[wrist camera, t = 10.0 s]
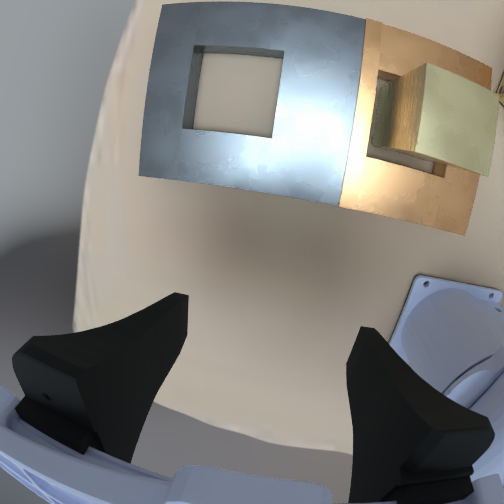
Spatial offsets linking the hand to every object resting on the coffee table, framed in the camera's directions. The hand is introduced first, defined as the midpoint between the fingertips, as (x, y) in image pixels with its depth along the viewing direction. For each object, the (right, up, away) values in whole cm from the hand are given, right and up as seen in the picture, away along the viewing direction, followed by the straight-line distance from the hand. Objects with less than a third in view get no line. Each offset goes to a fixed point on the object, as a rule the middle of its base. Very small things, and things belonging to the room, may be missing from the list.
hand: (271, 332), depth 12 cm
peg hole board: (+4, +13, +5) cm, 14 cm away
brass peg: (+9, +12, +5) cm, 16 cm away
